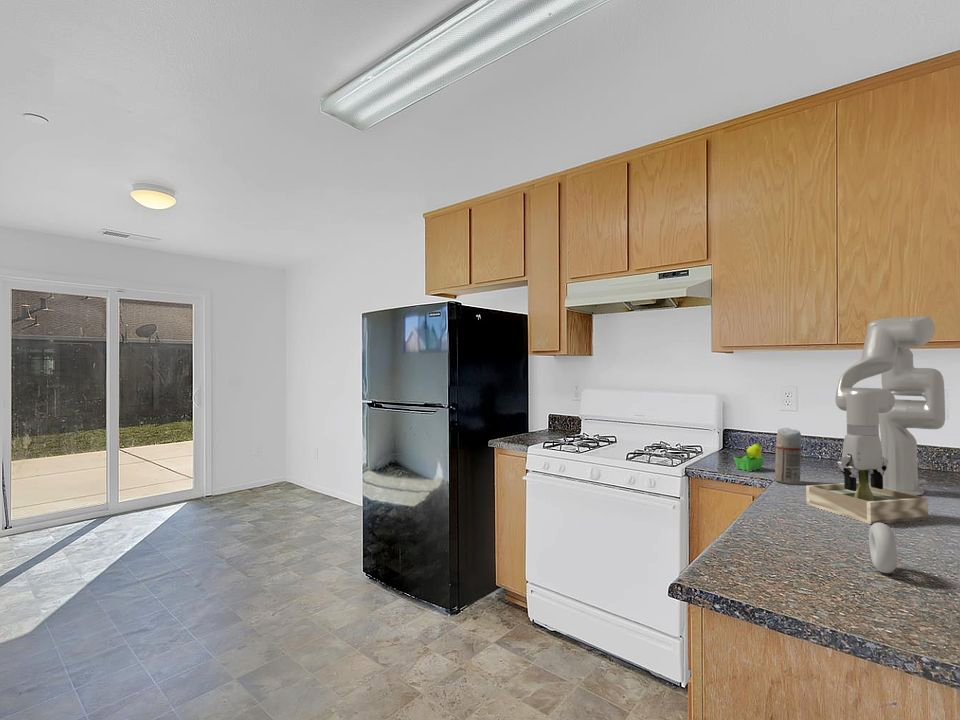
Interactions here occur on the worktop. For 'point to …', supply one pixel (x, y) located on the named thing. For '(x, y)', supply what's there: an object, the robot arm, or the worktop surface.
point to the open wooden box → (868, 504)
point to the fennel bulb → (864, 487)
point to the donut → (882, 547)
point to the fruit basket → (750, 459)
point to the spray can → (788, 456)
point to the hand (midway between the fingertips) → (863, 489)
